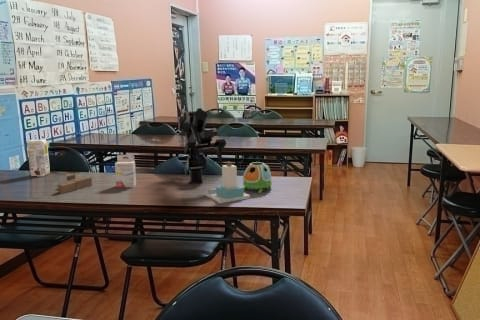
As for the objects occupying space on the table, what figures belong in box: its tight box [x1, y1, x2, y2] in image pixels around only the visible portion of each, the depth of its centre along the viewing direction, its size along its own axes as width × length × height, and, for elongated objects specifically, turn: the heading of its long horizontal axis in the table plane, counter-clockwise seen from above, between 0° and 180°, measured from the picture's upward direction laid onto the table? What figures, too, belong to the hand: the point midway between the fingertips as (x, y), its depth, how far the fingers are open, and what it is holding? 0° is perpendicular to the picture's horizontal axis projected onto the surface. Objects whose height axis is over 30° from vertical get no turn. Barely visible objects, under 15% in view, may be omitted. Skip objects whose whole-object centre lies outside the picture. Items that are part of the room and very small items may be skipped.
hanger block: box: [221, 161, 238, 190], centre depth 180 cm, size 4×4×14 cm
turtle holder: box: [242, 161, 273, 194], centre depth 196 cm, size 12×18×12 cm
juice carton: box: [26, 138, 51, 177], centre depth 230 cm, size 8×9×19 cm
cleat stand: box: [204, 184, 251, 204], centre depth 184 cm, size 14×14×5 cm
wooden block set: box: [57, 173, 93, 194], centre depth 204 cm, size 17×6×18 cm
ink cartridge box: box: [114, 154, 137, 189], centre depth 203 cm, size 9×5×15 cm, turn 92°
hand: (211, 161), depth 189 cm, fingers open, 9 cm apart
